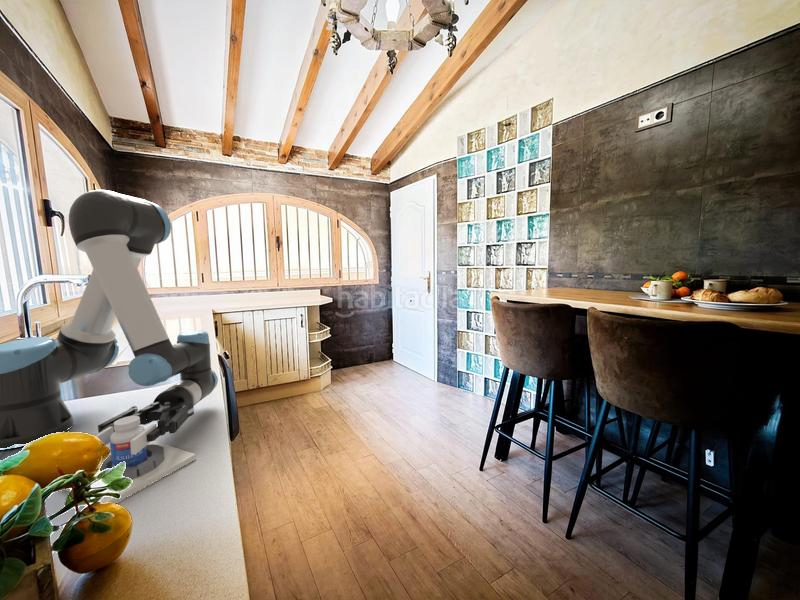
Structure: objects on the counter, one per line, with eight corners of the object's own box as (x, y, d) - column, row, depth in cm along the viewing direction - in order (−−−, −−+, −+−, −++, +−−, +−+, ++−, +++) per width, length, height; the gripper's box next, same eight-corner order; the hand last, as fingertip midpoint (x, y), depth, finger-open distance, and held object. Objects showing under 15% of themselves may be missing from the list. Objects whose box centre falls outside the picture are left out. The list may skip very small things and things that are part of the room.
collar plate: (57, 485, 62) (55, 472, 61) (150, 444, 76) (149, 433, 76) (104, 510, 55) (103, 495, 55) (195, 459, 70) (195, 447, 70)
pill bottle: (114, 478, 62) (109, 429, 61) (111, 466, 66) (106, 420, 64) (150, 465, 66) (145, 419, 65) (145, 455, 69) (141, 411, 68)
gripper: (220, 412, 84) (169, 464, 62) (135, 416, 82) (49, 472, 59) (219, 383, 84) (166, 426, 61) (133, 387, 81) (45, 433, 59)
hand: (109, 449), depth 60 cm, fingers open, 7 cm apart
